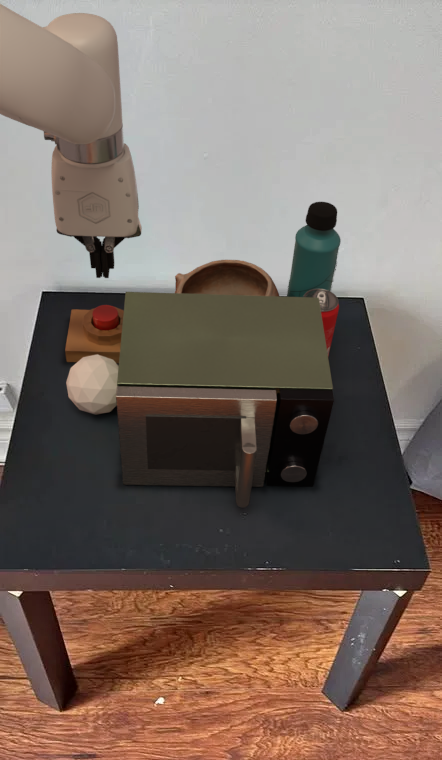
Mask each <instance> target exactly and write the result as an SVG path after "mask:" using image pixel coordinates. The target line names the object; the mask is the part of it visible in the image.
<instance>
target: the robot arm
mask: <svg viewBox="0 0 442 760" xmlns="http://www.w3.org/2000/svg"><path fill="white" fill-rule="evenodd" d="M0 115H1V116H4V117H6V118H8V119H10V120H12V121H16V122H17V123H21V124H23V125H26V126H29V127H32V128H34V129H37V130H39V131H42V132H43V138H44V140H45V141H50V142H54V145H55V146H54V148H53V151H52V154H51V192H52V193H51V194H52V205H53V216H54V224H55V227H56V233H57V234H59V235H62V236H66V237H70V238H74V239H75V240H76V241H78V242H79V243H81V245H83V246H84V247H85V250H86V252H87V253H89V262H90V263H89V264H90V269H95V277H96V279H101V278H104V279H109V278H110V270H114V269H115V248H116V247H117V246H118V245H119V244H121V243H122V242H123V241H124V240H125V239H132V238H138V237H140V236H141V235H142V230H143V229H142V228H143V227H142V224H141V221H140V218H139V207H140V206H139V193H138V185H137V184H138V183H137V177H136V171H135V166H134V162H133V157H132V154H131V150H130V147H129V146H128V145H127V144H126V143H125V139H124V138H125V137H124V124H123V108H122V89H121V72H120V57H119V42H118V35H117V32H116V29H115V28H114V26H113V25H112V23H111V22H110V21H108V19H106V18H104V17H102V16H100V15H97V14H93V13H88V12H73V13H65V14H63V15H59V16H57V17H55V18H54V19H53V20H51V21H50V22H49V23H48V25H46V26H41V25H39V24H37V23H35V22H33V21H32V20H29V19H28V18H26V17H24V16H23V15H20V14H19V13H17V12H15V11H13V10H12V9H10V8H9V7H7V6H6V5H4V4H2V3H0ZM101 237H102V238H103V237H104V238H103V239H102V241H101V239H100V238H101Z"/></svg>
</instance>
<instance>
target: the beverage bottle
mask: <svg viewBox="0 0 442 760" xmlns="http://www.w3.org/2000/svg"><path fill="white" fill-rule="evenodd" d="M337 221H338V209H337V207H336V206H335V205H334V204H332V203H331V202H327V201H315V202H313V203H311V204H310V205H309V206H308V209H307V213H306V215H305V224H306V225H304V226H301V228H299V229H298V230H297V231H296V233H295V237H294V238H295V240H294V249H293V255H292V260H291V261H292V262H291V269H290V274H289V279H288V286H287V289H286V290H287V291H286V293H287V294H286V297H303V296H304V294H305V293H306V292H307V291H309V290H312V289H325V290H328V291H330V292H332V288H333V282H334V277H335V275H336V274H335V272H336V271H337V267H338V266H337V265H338V256H339V249H340V246H341V241H342V239H341V236H340V234H339V233H338V232H337V231H336V230H335V229H334V228H336V226H337Z"/></svg>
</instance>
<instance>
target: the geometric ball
mask: <svg viewBox="0 0 442 760" xmlns="http://www.w3.org/2000/svg"><path fill="white" fill-rule="evenodd" d="M118 368H119V364H118V363H116V362H115V361H114V360H113V359H110V358H107V357H104V356H101V355H98V354H97V355H92V356H87V357H83V358H82V359H80V360H79V361H78V362H75V363H74V364H73V365H72V366H71V367H70V368H69V372H68V375H67V379H66V382H65V384H66V389H67V391H66V392H67V394H68V395H67V396H68V399H69V400H70V401H71V402H72V403H73V405H75V407H76V408H77V409H78V410H79V411H82V412H84V413H89V414H92V415H102V414H108V413H110V412H112V411H113V410H114V409H115V408H117V403H116V391H117V378H118Z"/></svg>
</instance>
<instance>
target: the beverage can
mask: <svg viewBox="0 0 442 760" xmlns="http://www.w3.org/2000/svg"><path fill="white" fill-rule="evenodd" d="M303 297H313V298H319V302H320V309H321V315H322V322H323V328H324V334H325V341H326V347H327V353H328V357H329V356H330V351H331V347H332V343H333V337H334V333H335V329H336V328H335V327H336V324H337V319H338V314H339V310H340V304H339V299H338V297H337V295H336V294H335V293H334V292H332V291H331V292H330V291H328V290H325V289H312V290H309V291H307V292H306V293H305V294H304V296H303Z"/></svg>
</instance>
